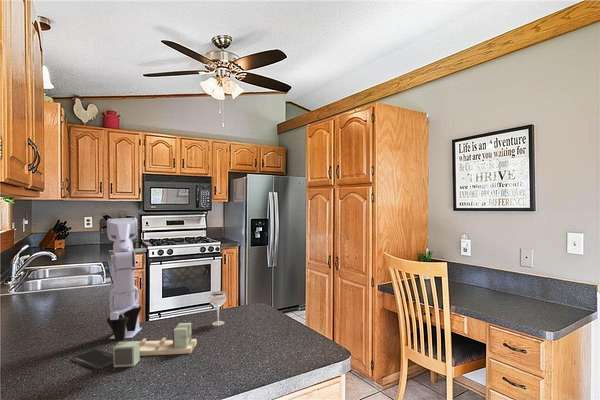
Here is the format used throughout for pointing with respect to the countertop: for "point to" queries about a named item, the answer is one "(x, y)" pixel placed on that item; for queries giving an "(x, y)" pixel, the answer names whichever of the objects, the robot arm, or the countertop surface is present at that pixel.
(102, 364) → the phone
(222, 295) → the wineglass
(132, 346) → the block
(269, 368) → the countertop surface
